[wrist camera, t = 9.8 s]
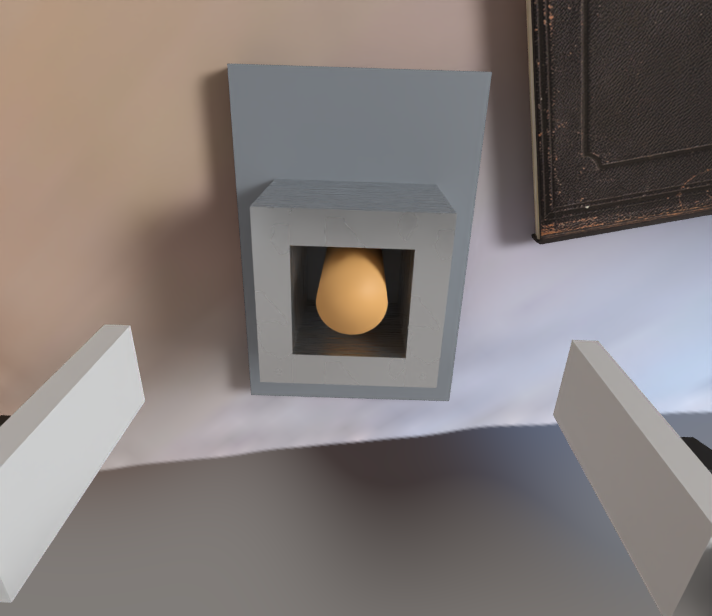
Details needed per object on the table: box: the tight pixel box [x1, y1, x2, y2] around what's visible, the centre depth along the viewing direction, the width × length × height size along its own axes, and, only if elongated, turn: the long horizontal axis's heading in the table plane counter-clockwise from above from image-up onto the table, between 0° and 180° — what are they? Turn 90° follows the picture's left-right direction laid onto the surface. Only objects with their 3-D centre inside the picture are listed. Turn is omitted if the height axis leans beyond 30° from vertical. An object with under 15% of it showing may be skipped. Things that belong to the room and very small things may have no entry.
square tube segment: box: [250, 179, 457, 388], centre depth 23 cm, size 8×8×6 cm
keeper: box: [227, 64, 492, 401], centre depth 24 cm, size 18×12×8 cm, turn 178°
